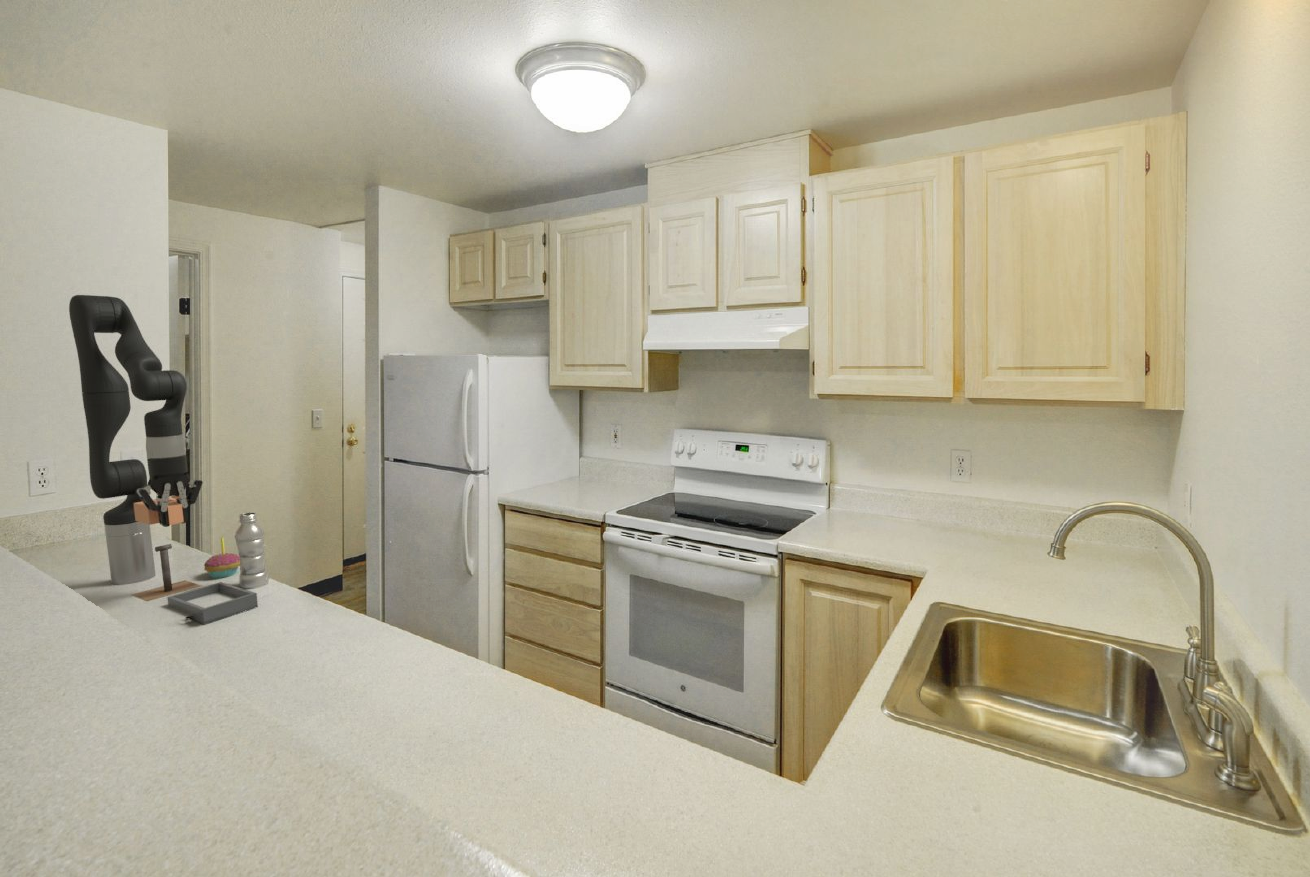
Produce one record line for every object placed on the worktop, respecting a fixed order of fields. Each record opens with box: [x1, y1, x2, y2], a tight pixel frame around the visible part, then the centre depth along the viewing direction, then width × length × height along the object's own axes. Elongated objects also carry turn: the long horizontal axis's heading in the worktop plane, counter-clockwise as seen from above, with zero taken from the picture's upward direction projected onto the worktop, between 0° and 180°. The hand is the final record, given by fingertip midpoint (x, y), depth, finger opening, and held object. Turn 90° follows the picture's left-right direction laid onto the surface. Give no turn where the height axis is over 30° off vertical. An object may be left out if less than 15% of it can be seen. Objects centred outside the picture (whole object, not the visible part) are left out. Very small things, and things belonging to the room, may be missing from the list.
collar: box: [134, 496, 184, 526], centre depth 161 cm, size 12×8×4 cm, turn 60°
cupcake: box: [203, 534, 240, 579], centre depth 176 cm, size 9×8×12 cm
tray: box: [166, 581, 259, 626], centre depth 155 cm, size 16×12×4 cm
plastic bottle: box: [234, 512, 270, 590], centre depth 167 cm, size 6×7×20 cm
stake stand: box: [131, 543, 203, 602], centre depth 164 cm, size 9×12×13 cm
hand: (174, 524), depth 158 cm, fingers closed on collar, 3 cm apart
